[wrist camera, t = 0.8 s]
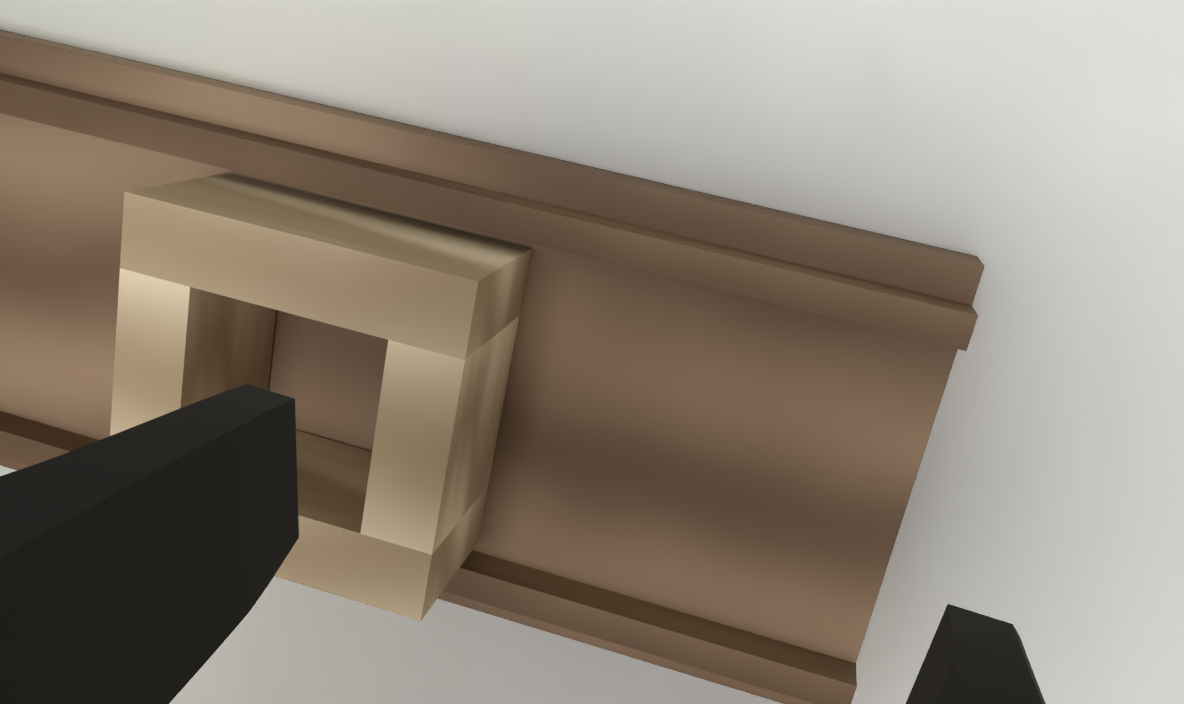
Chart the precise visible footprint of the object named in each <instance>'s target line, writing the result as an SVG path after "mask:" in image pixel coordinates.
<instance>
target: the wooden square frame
mask: <svg viewBox="0 0 1184 704" xmlns="http://www.w3.org/2000/svg"><path fill="white" fill-rule="evenodd" d="M531 250H532V248H530V247H526V246H521V245H517V244H513V243H509V242H505V241H501V240H497V239H493V238H489V237H485V236H481V235H477V234H473V233H469V232H465V231H461V230H457V229H453V228H448V227H444V226H440V225H436V224H432V223H428V222H424V221H420V220H416V219H412V218H408V217H404V216H400V215H396V214H392V213H388V212H384V211H380V210H376V209H371V208H367V207H363V206H359V205H355V204H351V203H347V202H343V201H339V200H335V199H331V198H327V197H323V196H319V195H315V194H311V193H307V192H303V191H298V190H294V189H290V188H286V187H282V186H278V185H274V184H270V183H266V182H262V181H258V180H254V179H250V178H246V177H242V176H238V175H234V174H230V173H224V174H219V175H213V176H208V177H202V178H197V179H191V180H186V181H180V182H175V183H169V184H164V185H158V186H153V187H147V188H142V189H136V190H131V191H125V192H124V206H123V223H122V240H121V257H120V274H119V291H118V308H117V325H116V343H115V360H114V377H113V394H112V411H111V428H110V436H111V435H114V434H117V433H119V432H122V431H124V430H127V429H129V428H132V427H135V426H137V425H140V424H142V423H145V422H147V421H150V420H152V419H155V418H157V417H160V416H162V415H165V414H167V413H170V412H172V411H175V410H177V409H180V408H182V407H185V406H188V405H190V404H193V403H195V402H198V401H201V400H203V399H206V398H209V397H211V396H214V395H217V394H219V393H222V392H225V391H228V390H231V389H234V388H237V387H240V386H243V385H246V384H250V385H253V386H256V387H259V388H262V389H265V390H268V383H269V374H270V365H271V355H272V346H273V337H274V328H275V318H276V310H279V311H283V312H286V313H290V314H294V315H298V316H301V317H305V318H309V319H313V320H316V321H320V322H324V323H328V324H331V325H335V326H339V327H343V328H346V329H350V330H354V331H358V332H361V333H365V334H369V335H373V336H376V337H380V338H384V339H388V346H387V353H386V360H385V367H384V373H383V380H382V387H381V394H380V401H379V408H378V415H377V422H376V429H375V436H374V443H373V450H372V452H370V451H367V450H363V449H360V448H356V447H353V446H349V445H346V444H342V443H339V442H335V441H332V440H328V439H325V438H321V437H318V436H314V435H311V434H307V433H304V432H300V431H297V430H296V451H297V486H298V521H299V538H298V540H297V541H296V543H295V544H294V546H293V547H292V549H291V551H290V552H289V554H288V555H287V557H286V558H285V560H284V561H283V563H282V565H281V566H280V568H279V569H278V571H277V572H276V574H275V575H274V576H277V577H280V578H283V579H286V580H290V581H293V582H296V583H299V584H303V585H306V586H309V587H312V588H316V589H319V590H322V591H325V592H329V593H332V594H335V595H338V596H342V597H345V598H348V599H351V600H355V601H358V602H361V603H364V604H367V605H371V606H374V607H377V608H380V609H384V610H387V611H390V612H393V613H397V614H400V615H403V616H406V617H410V618H413V619H416V620H419V621H421V620H422V618H423V617H424V616H425V614H426V613H427V612H428V610H429V609H430V608H431V606H432V605H433V603H434V602H435V601H436V599H437V598H438V597H439V595H440V594H441V593H442V591H443V590H444V588H445V587H446V586H447V584H448V583H449V582H450V580H451V579H452V577H453V576H454V575H455V573H456V572H457V571H458V569H459V568H460V567H461V565H462V564H463V562H464V561H465V560H466V558H467V557H468V556H469V554H470V553H471V552H472V550H473V549H474V547H475V546H476V545H477V543H478V538H479V533H480V527H481V522H482V516H483V511H484V505H485V500H486V495H487V489H488V484H489V478H490V473H491V467H492V462H493V457H494V451H495V446H496V440H497V435H498V429H499V424H500V419H501V413H502V408H503V402H504V397H505V391H506V386H507V381H508V375H509V370H510V364H511V359H512V353H513V348H514V342H515V337H516V332H517V326H518V321H519V315H520V310H521V304H522V299H523V294H524V288H525V283H526V277H527V272H528V266H529V261H530V256H531Z"/></svg>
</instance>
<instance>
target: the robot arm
mask: <svg viewBox="0 0 1184 704" xmlns="http://www.w3.org/2000/svg"><path fill="white" fill-rule="evenodd" d="M298 538H299V521H298V486H297V451H296V417H295V399H294V398H291V397H288V396H285V395H281V394H278V393H275V392H272V391H269V390H265V389H262V388H259V387H256V386H253V385H250V384H246V385H243V386H240V387H237V388H234V389H231V390H228V391H225V392H222V393H219V394H217V395H214V396H211V397H209V398H206V399H203V400H201V401H198V402H195V403H193V404H190V405H188V406H185V407H182V408H180V409H177V410H175V411H172V412H170V413H167V414H165V415H162V416H160V417H157V418H155V419H152V420H150V421H147V422H145V423H142V424H140V425H137V426H135V427H132V428H129V429H127V430H124V431H122V432H119V433H117V434H114V435H111V436H109V437H106V438H104V439H101V440H99V441H96V442H93V443H91V444H88V445H86V446H83V447H81V448H78V449H75V450H73V451H70V452H68V453H65V454H63V455H60V456H57V457H55V458H52V459H49V460H46V461H43V462H41V463H38V464H35V465H32V466H29V467H26V468H23V469H21V470H18V471H15V472H12V473H9V474H6V475H3V476H1V477H0V704H169V703H170V702H171V701H172V700H173V698H174V697H175V696H176V695H177V694H178V693H179V692H180V690H181V689H182V688H183V687H184V686H185V685H186V684H187V683H188V681H189V680H190V679H191V678H192V677H193V676H194V675H195V674H196V672H197V671H198V670H199V669H200V668H201V667H202V666H203V665H204V663H205V662H206V661H207V660H208V659H209V658H210V657H211V655H212V654H213V653H214V652H215V651H216V650H217V648H218V647H219V646H220V645H221V644H222V643H223V642H224V640H225V639H226V638H227V637H228V636H229V635H230V634H231V632H232V631H233V630H234V629H235V628H236V627H237V625H238V624H239V623H240V622H241V621H242V620H243V618H244V617H245V616H246V615H247V614H248V612H249V611H250V610H251V609H252V607H253V606H254V604H255V603H256V601H257V600H258V599H259V597H260V596H261V594H262V593H263V591H264V590H265V588H266V587H267V586H268V584H269V583H270V581H271V580H272V578H273V577H274V575H275V574H276V572H277V571H278V569H279V568H280V566H281V565H282V563H283V561H284V560H285V558H286V557H287V555H288V554H289V552H290V551H291V549H292V547H293V546H294V544H295V543H296V541H297V540H298ZM906 704H1045V701H1044V699H1043V696H1042V694H1041V691H1040V689H1039V686H1038V684H1037V681H1036V679H1035V676H1034V673H1033V671H1032V668H1031V665H1030V663H1029V660H1028V658H1027V655H1026V652H1025V650H1024V647H1023V644H1022V641H1021V639H1020V636H1019V635H1018V633H1017V631H1016V629H1015V628H1014V626H1013V624H1010V623H1007V622H1004V621H1000V620H997V619H994V618H991V617H988V616H985V615H981V614H978V613H975V612H972V611H969V610H965V609H962V608H959V607H956V606H953V605H950V604H948V605H947V607H946V610H945V612H944V615H943V617H942V619H941V622H940V624H939V626H938V629H937V631H936V634H935V636H934V638H933V641H932V643H931V645H930V648H929V650H928V652H927V655H926V657H925V660H924V662H923V664H922V667H921V669H920V671H919V674H918V676H917V679H916V681H915V683H914V686H913V688H912V690H911V693H910V695H909V697H908V700H907V702H906Z"/></svg>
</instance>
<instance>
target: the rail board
mask: <svg viewBox="0 0 1184 704" xmlns="http://www.w3.org/2000/svg"><path fill="white" fill-rule="evenodd" d="M224 173H230V174H234V175H238V176H242V177H246V178H250V179H254V180H258V181H262V182H266V183H270V184H274V185H278V186H282V187H286V188H290V189H294V190H298V191H303V192H307V193H311V194H315V195H319V196H323V197H327V198H331V199H335V200H339V201H343V202H347V203H351V204H355V205H359V206H363V207H367V208H371V209H376V210H380V211H384V212H388V213H392V214H396V215H400V216H404V217H408V218H412V219H416V220H420V221H424V222H428V223H432V224H436V225H440V226H444V227H448V228H453V229H457V230H461V231H465V232H469V233H473V234H477V235H481V236H485V237H489V238H493V239H497V240H501V241H505V242H509V243H513V244H517V245H521V246H526V247H530V248H532V250H531V256H530V261H529V266H528V272H527V277H526V283H525V288H524V294H523V299H522V304H521V310H520V315H519V321H518V326H517V332H516V337H515V342H514V348H513V353H512V359H511V364H510V370H509V375H508V381H507V386H506V391H505V397H504V402H503V408H502V413H501V419H500V424H499V429H498V435H497V440H496V446H495V451H494V457H493V462H492V467H491V473H490V478H489V484H488V489H487V495H486V500H485V505H484V511H483V516H482V522H481V527H480V533H479V538H478V543H477V545H476V546H475V547H474V549H473V550H472V552H471V553H470V554H469V556H468V557H467V558H466V560H465V561H464V562H463V564H462V565H461V567H460V568H459V569H458V571H457V572H456V573H455V575H454V576H453V577H452V579H451V580H450V582H449V583H448V584H447V586H446V587H445V588H444V590H443V591H442V593H441V594H440V595H439V597H438V598H439V599H442V600H445V601H448V602H452V603H455V604H458V605H462V606H465V607H468V608H471V609H475V610H478V611H481V612H485V613H488V614H491V615H494V616H498V617H501V618H504V619H508V620H511V621H514V622H517V623H521V624H524V625H527V626H531V627H534V628H537V629H540V630H544V631H547V632H550V633H554V634H557V635H560V636H563V637H567V638H570V639H573V640H577V641H580V642H583V643H586V644H590V645H593V646H596V647H600V648H603V649H606V650H609V651H613V652H616V653H619V654H623V655H626V656H629V657H632V658H636V659H639V660H642V661H646V662H649V663H652V664H655V665H659V666H662V667H665V668H669V669H672V670H675V671H678V672H682V673H685V674H688V675H692V676H695V677H698V678H701V679H705V680H708V681H711V682H715V683H718V684H721V685H724V686H728V687H731V688H734V689H738V690H741V691H744V692H747V693H751V694H754V695H757V696H761V697H764V698H767V699H770V700H774V701H777V702H780V703H784V704H851V702H852V699H853V696H854V693H855V690H856V687H857V684H856V661H857V658H858V654H859V651H860V648H861V645H862V642H863V639H864V636H865V633H866V630H867V627H868V624H869V621H870V617H871V614H872V611H873V608H874V605H875V602H876V599H877V596H878V593H879V590H880V587H881V584H882V580H883V577H884V574H885V571H886V568H887V565H888V562H889V559H890V556H891V553H892V550H893V546H894V543H895V540H896V537H897V534H898V531H899V528H900V525H901V522H902V519H903V516H904V513H905V509H906V506H907V503H908V500H909V497H910V494H911V491H912V488H913V485H914V482H915V479H916V476H917V472H918V469H919V466H920V463H921V460H922V457H923V454H924V451H925V448H926V445H927V442H928V439H929V435H930V432H931V429H932V426H933V423H934V420H935V417H936V414H937V411H938V408H939V405H940V401H941V398H942V395H943V392H944V389H945V386H946V383H947V380H948V377H949V374H950V371H951V368H952V364H953V361H954V358H955V355H956V352H957V349H960V350H964V351H966V350H967V347H968V344H969V341H970V338H971V335H972V332H973V329H974V326H975V323H976V320H977V317H978V315H977V313H976V312H975V310H974V308H973V307H972V303H973V300H974V297H975V294H976V290H977V287H978V284H979V281H980V278H981V275H982V272H983V269H984V265H983V264H982V263H981V261H980V260H979V259H978V257H977V256H972V255H968V254H964V253H959V252H955V251H951V250H946V249H942V248H938V247H934V246H929V245H925V244H921V243H916V242H912V241H908V240H903V239H899V238H895V237H890V236H886V235H882V234H878V233H873V232H869V231H865V230H860V229H856V228H852V227H847V226H843V225H839V224H834V223H830V222H826V221H822V220H817V219H813V218H809V217H804V216H800V215H796V214H791V213H787V212H783V211H779V210H774V209H770V208H766V207H761V206H757V205H753V204H748V203H744V202H740V201H735V200H731V199H727V198H723V197H718V196H714V195H710V194H705V193H701V192H697V191H692V190H688V189H684V188H679V187H675V186H671V185H667V184H662V183H658V182H654V181H649V180H645V179H641V178H636V177H632V176H628V175H623V174H619V173H615V172H611V171H606V170H602V169H598V168H593V167H589V166H585V165H580V164H576V163H572V162H567V161H563V160H559V159H555V158H550V157H546V156H542V155H537V154H533V153H529V152H524V151H520V150H516V149H511V148H507V147H503V146H499V145H494V144H490V143H486V142H481V141H477V140H473V139H468V138H464V137H460V136H455V135H451V134H447V133H443V132H438V131H434V130H430V129H425V128H421V127H417V126H412V125H408V124H404V123H399V122H395V121H391V120H387V119H382V118H378V117H374V116H369V115H365V114H361V113H356V112H352V111H348V110H344V109H339V108H335V107H331V106H326V105H322V104H318V103H313V102H309V101H305V100H300V99H296V98H292V97H288V96H283V95H279V94H275V93H270V92H266V91H262V90H257V89H253V88H249V87H244V86H240V85H236V84H232V83H227V82H223V81H219V80H214V79H210V78H206V77H201V76H197V75H193V74H188V73H184V72H180V71H176V70H171V69H167V68H163V67H158V66H154V65H150V64H145V63H141V62H137V61H132V60H128V59H124V58H120V57H115V56H111V55H107V54H102V53H98V52H94V51H89V50H85V49H81V48H76V47H72V46H68V45H64V44H59V43H55V42H51V41H46V40H42V39H38V38H33V37H29V36H25V35H20V34H16V33H12V32H8V31H3V30H0V465H2V466H5V467H8V468H11V469H15V470H21V469H23V468H26V467H29V466H32V465H35V464H38V463H41V462H43V461H46V460H49V459H52V458H55V457H57V456H60V455H63V454H65V453H68V452H70V451H73V450H75V449H78V448H81V447H83V446H86V445H88V444H91V443H93V442H96V441H99V440H101V439H104V438H106V437H109V436H110V428H111V411H112V394H113V377H114V360H115V343H116V325H117V308H118V291H119V274H120V257H121V240H122V223H123V206H124V192H125V191H131V190H136V189H142V188H147V187H153V186H158V185H164V184H169V183H175V182H180V181H186V180H191V179H197V178H202V177H208V176H213V175H219V174H224ZM387 346H388V339H384V338H380V337H376V336H373V335H369V334H365V333H361V332H358V331H354V330H350V329H346V328H343V327H339V326H335V325H331V324H328V323H324V322H320V321H316V320H313V319H309V318H305V317H301V316H298V315H294V314H290V313H286V312H283V311H279V310H276V318H275V328H274V337H273V346H272V355H271V365H270V374H269V383H268V390H269V391H272V392H275V393H278V394H281V395H285V396H288V397H291V398H294V399H295V417H296V430H297V431H300V432H304V433H307V434H311V435H314V436H318V437H321V438H325V439H328V440H332V441H335V442H339V443H342V444H346V445H349V446H353V447H356V448H360V449H363V450H367V451H370V452H372V450H373V443H374V436H375V429H376V422H377V415H378V408H379V401H380V394H381V387H382V380H383V373H384V367H385V360H386V353H387Z"/></svg>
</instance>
